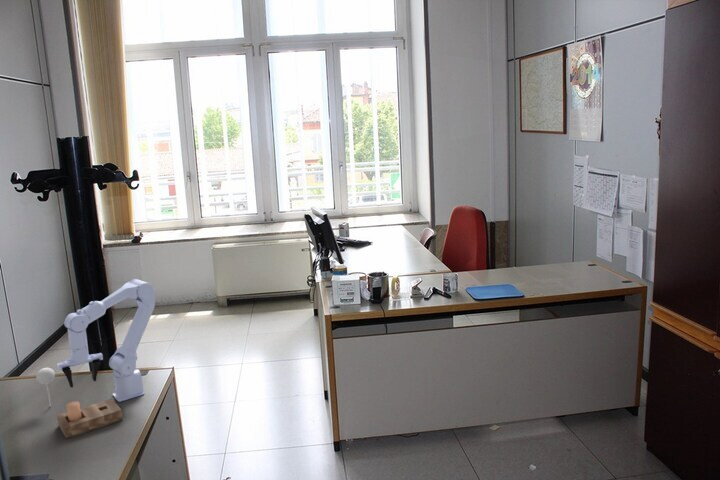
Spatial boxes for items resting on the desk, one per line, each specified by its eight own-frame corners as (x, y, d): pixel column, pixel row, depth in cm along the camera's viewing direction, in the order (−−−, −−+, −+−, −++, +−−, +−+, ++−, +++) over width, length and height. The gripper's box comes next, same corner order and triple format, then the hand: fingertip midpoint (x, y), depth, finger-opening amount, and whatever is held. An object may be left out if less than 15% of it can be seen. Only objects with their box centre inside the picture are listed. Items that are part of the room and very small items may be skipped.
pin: (80, 421, 205) (77, 400, 203) (84, 425, 202) (80, 404, 200) (68, 426, 202) (64, 404, 201) (72, 430, 199) (68, 408, 198)
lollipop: (51, 411, 214) (45, 372, 211) (37, 410, 216) (31, 371, 212) (63, 403, 220) (57, 365, 217) (49, 402, 222) (43, 364, 218)
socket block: (113, 408, 215) (111, 398, 214) (122, 420, 206) (121, 409, 205) (58, 426, 204) (56, 415, 203) (66, 439, 195) (64, 427, 194)
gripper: (97, 339, 217) (101, 374, 220) (53, 348, 208) (58, 385, 211) (102, 344, 211) (106, 380, 214) (58, 354, 203) (62, 392, 205)
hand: (83, 383), depth 212 cm, fingers open, 7 cm apart
